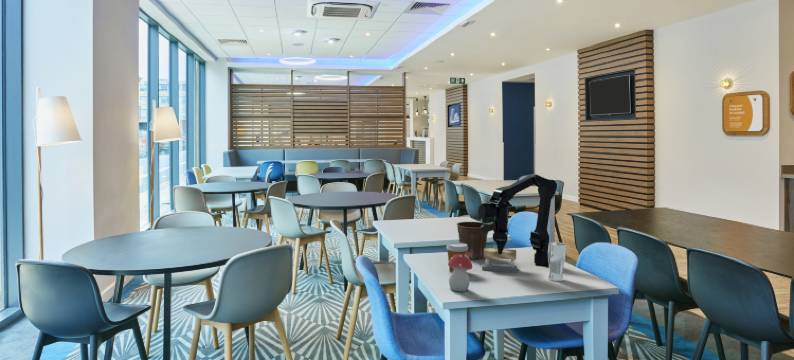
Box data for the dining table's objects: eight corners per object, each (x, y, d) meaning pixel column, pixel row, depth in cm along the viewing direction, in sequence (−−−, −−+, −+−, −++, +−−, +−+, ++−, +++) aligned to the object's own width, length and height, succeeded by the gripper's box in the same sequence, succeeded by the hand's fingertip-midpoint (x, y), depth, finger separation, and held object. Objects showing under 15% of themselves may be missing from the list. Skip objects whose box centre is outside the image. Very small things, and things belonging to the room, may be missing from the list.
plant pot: (491, 261, 229) (492, 227, 228) (457, 260, 230) (458, 227, 228) (486, 253, 246) (486, 221, 244) (454, 252, 246) (454, 221, 245)
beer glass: (564, 278, 202) (565, 242, 201) (564, 282, 195) (565, 246, 194) (547, 276, 204) (548, 241, 203) (546, 280, 198) (547, 244, 196)
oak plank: (516, 256, 216) (516, 249, 215) (516, 259, 210) (516, 252, 210) (484, 254, 219) (484, 248, 219) (483, 257, 213) (483, 250, 213)
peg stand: (517, 268, 217) (517, 256, 216) (517, 272, 210) (517, 260, 209) (483, 266, 220) (483, 254, 220) (482, 270, 213) (482, 257, 213)
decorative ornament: (474, 289, 185) (475, 251, 184) (466, 294, 180) (467, 254, 178) (453, 285, 190) (453, 248, 189) (444, 289, 185) (445, 251, 184)
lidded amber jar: (470, 270, 213) (471, 243, 212) (464, 275, 204) (464, 247, 203) (449, 267, 217) (450, 241, 216) (442, 273, 208) (443, 245, 207)
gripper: (483, 213, 224) (483, 246, 225) (481, 219, 206) (480, 255, 207) (508, 214, 221) (507, 247, 223) (507, 220, 203) (506, 257, 205)
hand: (500, 252), depth 214 cm, fingers open, 9 cm apart
